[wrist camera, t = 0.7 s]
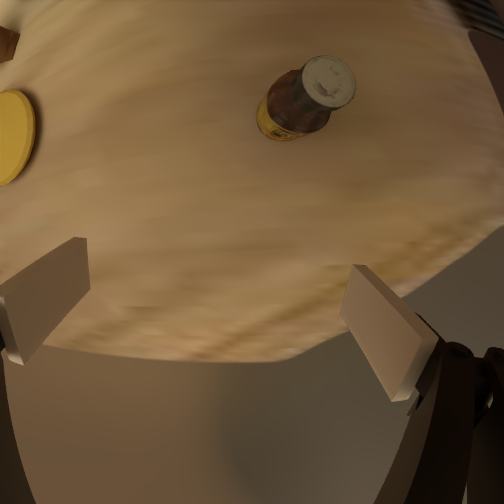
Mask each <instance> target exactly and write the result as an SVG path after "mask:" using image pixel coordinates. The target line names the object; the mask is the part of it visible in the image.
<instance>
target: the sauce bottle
mask: <svg viewBox="0 0 504 504" xmlns="http://www.w3.org/2000/svg"><path fill="white" fill-rule="evenodd" d="M355 90H356V82H355V77H354V75H353V73H352V71H351V69H350V68H349V67H348V66H347V65H346V64H345V63H343V62H342V61H341V60H340V59H337V58H335V57H331V56H318V57H315V58H312V59H310V60H309V61H308V62H307V63H306V64H305V65H304V66H303V67H302V68H301V70H291V71H290V72H288V73H286V74H284V75H282V76H281V77H280V78H279V79H278V80H277V81H276V82H275V83H274V84H273V85H272V86H271V88H270V89H269V91H268V92H267V94H266V96H265V97H264V99H263V100H262V102H261V103H260V105H259V107H258V110H257V124H258V127H259V129H260V131H261V132H262V133H263V134H265V135H266V136H267V137H268V138H270V139H274V140H277V141H288V140H291V139H294V138H297V137H300V136H304V135H306V134H310V133H313V132H316V131H318V130H320V129H321V128H323V127H324V126H325V125H326V123H327V122H328V120H329V117H330V114H331V111H333V110H337V109H340V108H341V107H343V106H345V105H346V104H348V103H349V102H350V101H351V100H352V99H353V97H354V94H355Z"/></svg>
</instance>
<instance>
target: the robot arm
mask: <svg viewBox="0 0 504 504" xmlns="http://www.w3.org/2000/svg"><path fill="white" fill-rule="evenodd" d="M89 290H90V279H89V268H88V254H87V238H79V237H73V238H72V239H70V240H68V241H67V242H65V243H63V244H62V245H60V246H59V247H57V248H55V249H54V250H52V251H51V252H49V253H47V254H46V255H44V256H43V257H41V258H40V259H38V260H37V261H35V262H34V263H32V264H31V265H29V266H28V267H26V268H25V269H23V270H22V271H20V272H19V273H17V274H16V275H14V276H13V277H12V278H10V279H9V280H7V281H6V282H4V283H3V284H2V285H0V352H1V351H2V350H3V349H4V347H5V348H6V351H7V354H8V356H9V359H10V360H11V361H13V362H16V363H19V364H21V365H25V363H26V362H27V361H28V360H29V358H30V357H31V356H32V355H33V354H34V352H35V351H36V350H37V349H38V347H39V346H40V345H41V344H42V343H43V341H44V340H45V339H46V338H47V337H48V336H49V334H50V333H51V332H52V331H53V330H54V329H55V327H56V326H57V325H58V324H59V323H60V322H61V321H62V319H63V318H64V317H65V316H66V315H67V314H68V313H69V312H70V311H71V309H72V308H73V307H74V306H75V305H76V304H77V303H78V302H79V301H80V300H81V299H82V297H83V296H84V295H85V294H86V293H87V292H88V291H89ZM340 314H341V316H342V318H343V319H344V321H345V323H346V324H347V326H348V328H349V329H350V331H351V332H352V334H353V336H354V337H355V339H356V341H357V342H358V344H359V346H360V348H361V349H362V351H363V352H364V354H365V356H366V358H367V360H368V361H369V363H370V364H371V366H372V368H373V370H374V372H375V373H376V375H377V377H378V379H379V380H380V382H381V384H382V386H383V387H384V389H385V391H386V393H387V394H388V396H389V398H390V400H391V402H394V401H400V400H406V399H409V397H410V395H411V393H412V391H413V390H414V388H415V387H416V389H417V390H418V392H419V393H420V394H419V395H418V397H417V399H416V400H415V402H414V404H413V406H412V407H411V409H410V410H409V412H408V414H407V415H408V416H409V415H410V414H411V416H410V419H409V422H408V425H407V428H406V430H405V433H404V436H403V439H402V441H401V444H400V446H399V449H398V451H397V454H396V457H395V459H394V461H393V464H392V466H391V468H390V470H389V473H388V475H387V477H386V479H385V482H384V484H383V486H382V488H381V490H380V492H379V494H378V496H377V498H376V500H375V502H374V504H462V501H463V496H464V492H465V487H466V482H467V504H504V350H502V349H501V348H496V347H490V348H488V350H487V352H486V354H485V356H484V358H478V357H474V355H473V353H472V351H471V350H470V349H469V348H467V347H466V346H464V345H462V344H460V343H456V342H448V343H446V342H445V341H444V339H442V337H441V336H440V335H439V334H438V333H437V332H436V331H435V330H434V329H432V328H431V326H430V325H429V324H428V323H426V321H425V320H424V319H423V318H422V317H421V316H420V315H418V314H417V313H415V312H414V311H412V310H411V309H410V308H409V307H408V306H407V305H406V304H405V303H404V302H403V301H402V300H401V299H400V298H399V297H398V296H397V295H396V294H395V293H394V292H393V291H392V290H391V289H390V288H389V287H388V286H387V285H386V284H385V283H384V282H383V281H382V280H381V279H380V278H379V277H378V276H376V275H375V274H374V273H373V272H372V271H371V270H370V269H369V268H368V267H367V266H366V265H356V264H352V267H351V271H350V275H349V280H348V284H347V288H346V291H345V295H344V299H343V303H342V307H341V310H340ZM492 397H493V401H492V404H491V406H490V408H489V407H488V403H489V402H490V400H491V399H492ZM0 504H36V503H35V500H34V498H33V495H32V492H31V490H30V487H29V484H28V481H27V479H26V476H25V472H24V469H23V466H22V462H21V459H20V455H19V452H18V448H17V444H16V440H15V436H14V431H13V426H12V422H11V417H10V411H9V405H8V400H7V393H6V385H5V376H4V365H3V359H2V356H1V353H0Z"/></svg>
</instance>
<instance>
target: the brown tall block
mask: <svg viewBox="0 0 504 504" xmlns="http://www.w3.org/2000/svg"><path fill="white" fill-rule="evenodd" d="M19 37H20V34H18V33H15V32H13V31H11V30H8V29H6V28H4V27H1V26H0V63H3V62H6V61H9V60H12V59H13V56H14V53H15V50H16V46H17V43H18V40H19Z"/></svg>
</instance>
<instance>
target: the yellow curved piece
mask: <svg viewBox="0 0 504 504" xmlns="http://www.w3.org/2000/svg"><path fill="white" fill-rule="evenodd" d="M35 131H36V129H35V115H34V110H33V107H32V105H31V103H30V101H29V99H28V98H27V97H26V96H25V95H24V94H22V93H21V92H20V91H17V90H14V89H10V90H5V91H3V92H1V93H0V186H2V185H5V184H8V183H9V182H10V181H11V180H13V179H14V178H15V177H16V176H18V175H19V173H20V172H21V171H22V169H23V168H24V167H25V165H26V163H27V161H28V159H29V157H30V154H31V151H32V147H33V144H34V138H35Z"/></svg>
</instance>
